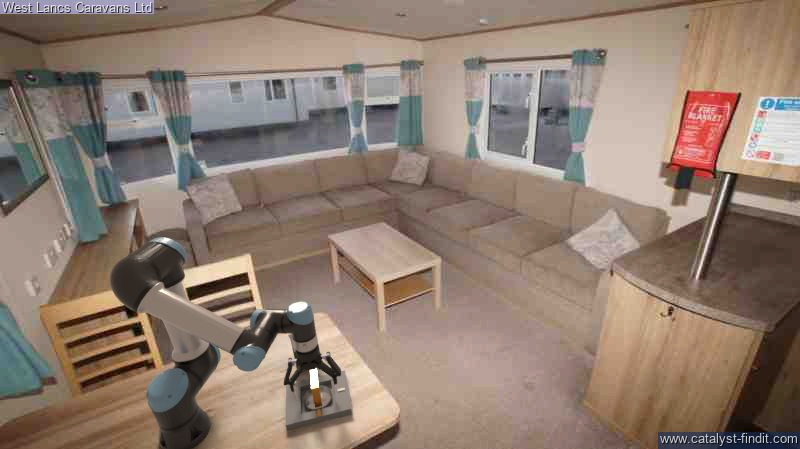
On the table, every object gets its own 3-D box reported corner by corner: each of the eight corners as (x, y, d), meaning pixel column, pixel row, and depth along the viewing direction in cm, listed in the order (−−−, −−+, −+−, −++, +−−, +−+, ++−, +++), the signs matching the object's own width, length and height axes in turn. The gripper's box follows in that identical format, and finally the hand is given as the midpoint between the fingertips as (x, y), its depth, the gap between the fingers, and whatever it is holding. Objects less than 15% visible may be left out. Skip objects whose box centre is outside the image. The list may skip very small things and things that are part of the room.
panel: (286, 430, 127) (285, 424, 125) (287, 388, 143) (286, 383, 141) (352, 413, 131) (351, 407, 130) (345, 375, 147) (344, 369, 146)
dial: (303, 392, 140) (299, 370, 136) (330, 385, 142) (327, 364, 138) (304, 414, 131) (299, 392, 127) (333, 407, 133) (329, 385, 129)
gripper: (266, 359, 119) (279, 408, 128) (344, 347, 122) (351, 396, 131) (270, 343, 126) (281, 390, 134) (343, 332, 129) (350, 379, 138)
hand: (316, 393), depth 133 cm, fingers open, 12 cm apart
